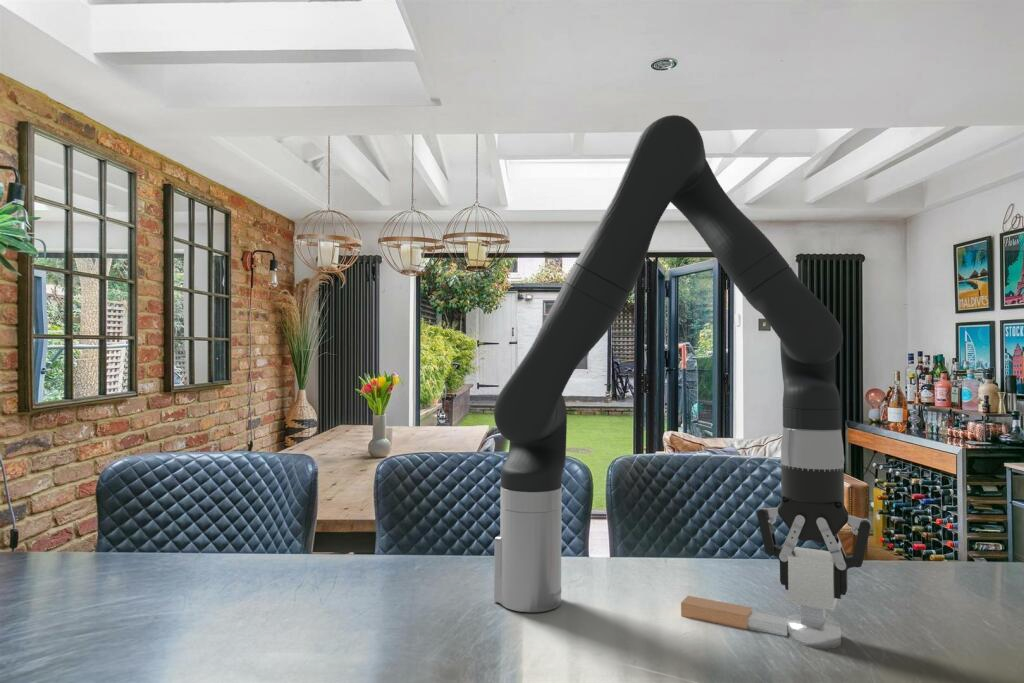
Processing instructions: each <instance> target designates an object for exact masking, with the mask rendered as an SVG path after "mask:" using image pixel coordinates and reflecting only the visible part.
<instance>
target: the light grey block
mask: <svg viewBox="0 0 1024 683" xmlns="http://www.w3.org/2000/svg"><path fill="white" fill-rule="evenodd" d="M835 567H836V565H835V562H834V560H833V558H832V555H831V553H830V552H829V550H822V549H814V548H806V547H799V546H795V548H794V550H793V551H792V553H791V554H789V555H788V590H787V591H788V595H787V596H788V599H787V600H788V604H794V605H799V606H801V605H804V606H810V607H815V608H821V609H825V610H827V611H832V612H834V611H835V608H836V605H837V602H838V599H836V598H835Z"/></svg>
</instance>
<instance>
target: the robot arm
mask: <svg viewBox="0 0 1024 683" xmlns="http://www.w3.org/2000/svg"><path fill="white" fill-rule="evenodd" d="M706 157H707V156H706V149H705V146H704V140H703V136H702V134H701V133H700V131H699V129H698V127H697V126H696V125H695V124H694V123H693V122H692V120H690V119H688V118H687V117H684V116H681V115H678V114H677V115H676V114H675V115H674V114H672V115H665V116H664V117H663V116H662V117H661V118H660V117H659V118H658V119H656V120H655V121H653V122H651V123H650V124H649V125H648V126H647V127H646V128H645V129H644V130H643V131H642V133H641V135H640V136H639V138H638V139H637V142H636V144H635V146H634V149H633V151H632V153H631V155H630V158H629V160H628V163H627V166H626V167H625V170H624V172H623V174H622V176H621V180H620V182H619V183H618V186H617V189H616V191H615V193H614V195H613V197H612V199H611V201H610V203H609V205H608V206H607V208H606V209H605V211H604V213H603V214H602V216H601V217H600V218H599V221H598V222H597V224H596V226H595V227H594V229H593V231H592V233H591V234H590V236H589V237H588V239H587V241H586V243H585V245H584V247H583V249H582V250H581V252H580V254H579V255H578V257H577V258H576V260H575V262H574V264H573V265H572V267H571V269H570V270H569V273H568V275H566V278H565V280H564V282H563V283H562V286H561V288H560V290H559V292H558V295H557V296H556V298H555V300H554V302H553V304H552V306H551V307H550V310H549V311H548V313H547V315H546V316H545V319H544V321H543V323H542V324H541V327H540V329H539V332H538V333H537V335H536V337H535V340H534V341H533V343H532V345H531V347H530V348H529V350H528V351H527V352H526V354H525V356H524V358H523V359H522V360H521V361H520V363H519V364H518V366H517V367H516V369H515V370H514V372H513V373H512V375H511V376H510V378H509V379H508V380H507V382H506V383H505V384H504V386H503V387H502V389H501V391H500V392H499V394H498V396H497V398H496V401H495V404H494V412H493V417H494V423H495V426H496V429H497V431H498V432H499V434H500V435H501V436H502V437H503V438H504V439H506V440H507V441H509V447H508V453H507V456H506V459H505V462H504V464H503V465H502V468H501V470H500V501H499V503H500V504H499V505H500V508H499V510H500V517H499V518H500V520H499V521H500V522H499V524H500V527H499V528H500V532H499V533H500V535H497V536H496V537H495V538H494V554H493V555H494V558H493V559H494V562H493V564H494V569H493V571H494V572H493V573H494V574H493V575H494V578H493V579H494V581H493V583H494V584H493V585H494V586H493V589H494V590H493V601H494V603H499V604H500V605H501V606H503V607H504V608H505V609H509V610H512V611H516V612H520V613H521V612H522V613H542V612H548V611H552V610H554V609H556V608H558V607H560V605H561V604H562V510H563V509H562V500H563V498H562V497H563V496H562V486H563V485H562V484H563V482H562V478H563V472H564V469H565V465H566V458H567V456H566V454H567V434H568V433H567V427H568V425H567V424H568V423H567V422H568V421H567V420H568V419H567V418H568V417H567V413H568V412H567V406H566V401H565V398H564V396H563V393H564V390H565V389H566V388H567V387H566V386H567V384H568V382H569V381H570V379H571V377H572V375H573V373H574V372H575V370H576V369H577V368H578V366H579V364H581V362H582V360H583V359H584V358H585V357H586V356H587V354H589V352H591V350H592V349H593V348H594V347H595V346H596V345H597V344H598V343H599V342H600V340H601V339H602V338H603V337H604V335H605V334H606V333H607V332H608V330H610V328H611V326H613V324H614V322H615V321H616V320H617V318H618V316H619V315H620V313H621V311H622V309H623V308H624V305H625V304H626V302H627V300H628V298H629V297H630V295H631V293H632V292H633V290H634V288H635V286H636V283H637V282H638V279H639V277H640V274H641V271H642V269H643V266H644V264H645V260H646V257H647V255H648V252H649V248H650V245H651V241H652V238H653V236H654V234H655V231H656V228H657V226H658V224H659V221H660V220H661V218H662V217H663V215H664V213H665V211H666V209H667V208H668V206H669V205H670V204H672V205H673V206H674V207H675V208H676V209H677V210H678V211H679V212H680V213H681V214H682V215H683V216H684V217H685V219H687V220H688V222H689V223H690V224H691V225H692V226H693V227H694V228H695V230H696V231H697V233H698V234H699V235H700V237H701V238H702V239H703V241H704V242H705V244H706V245H707V247H708V248H709V249H710V251H711V253H712V254H713V256H714V257H715V259H716V260H717V262H718V263H719V264H720V266H721V267H722V268H723V270H724V272H725V273H726V274H727V276H728V277H729V279H730V280H731V281H732V282H733V283H734V285H735V286H736V288H737V289H738V290H739V292H740V293H741V295H742V296H743V297H744V298H745V300H746V301H747V303H749V305H751V307H752V308H754V309H755V311H757V312H759V313H760V314H761V315H762V317H763V318H764V319H765V320H766V322H767V323H768V324H769V326H770V328H771V329H772V330H773V331H774V333H775V334H776V335H777V338H779V340H780V342H779V343H780V344H779V345H780V362H781V373H782V382H783V397H782V436H781V442H780V447H781V448H780V460H781V461H780V465H781V466H780V467H781V468H780V470H781V476H780V477H781V480H780V481H781V485H780V486H781V499H780V500H781V501H780V503H779V505H778V506H777V507H776V506H775V507H768V506H762V507H761V508H760V509H758V511H757V512H756V515H757V516H756V517H757V521H758V525H759V530H760V536H761V540H762V543H763V547H764V551H765V554H767V555H770V556H773V557H776V558H777V559H778V560H779V581H780V584H781V585H782V586H784V589H785V591H788V555H789V554H791V553H792V551H793V550H794V548H795V547H797V546H796V545H797V543H798V541H802V542H803V541H804V542H808V541H813V542H816V543H818V544H825V545H826V548H827V551H829V552H830V553H831V555H832V558H833V560H834V562H835V565H836V567H835V598H836V599H837V600H841V599H842V596H846V593H848V589H849V586H848V569H851V568H861V567H862V565H863V562H864V558H865V554H866V549H867V544H868V540H869V538H870V537H869V536H870V532H871V529H872V520H871V519H870V518H869V517H863V518H860V517H858V516H854V515H850V514H849V512H848V510H847V508H846V506H845V469H844V468H845V465H844V464H845V454H844V453H845V452H844V442H843V437H842V436H843V435H842V413H841V412H842V410H841V409H842V408H841V397H840V396H841V395H840V393H839V392H840V391H839V389H838V387H837V385H836V364H835V361H836V360H835V359H836V356H837V355H838V353H839V352H840V350H841V348H842V345H843V342H844V335H843V330H842V327H841V325H840V324H839V322H838V320H837V319H836V316H834V315H833V314H832V312H831V311H830V309H828V307H826V305H825V304H824V303H823V302H822V301H821V300H820V299H819V298H818V297H817V296H816V295H815V294H814V293H813V292H812V291H811V290H810V289H809V287H807V286H806V285H805V284H804V283H803V282H802V281H801V280H800V279H799V277H798V276H797V274H796V273H795V270H793V268H792V266H790V264H789V263H788V262H787V260H786V259H785V257H783V255H782V254H781V253H780V252H779V250H778V249H777V248H776V247H775V246H774V244H773V243H772V242H771V240H770V239H769V238H768V237H767V236H766V235H765V233H764V232H763V231H761V230H760V229H759V227H758V226H756V224H755V223H754V222H752V221H751V220H750V218H748V217H747V215H746V214H744V213H743V211H741V210H740V209H739V207H737V205H736V204H735V203H734V202H733V200H732V199H731V198H730V197H729V195H727V193H726V192H725V190H723V187H722V186H721V184H720V183H719V181H718V179H717V178H716V176H715V174H714V172H713V170H712V168H711V166H710V164H709V162H708V160H707V158H706ZM778 516H779V517H780V519H781V521H783V524H785V526H786V527H787V529H788V530H789V532H788V534H787V536H786V538H785V541H784V543H783V546H781V545H778V544H777V538H776V533H775V529H774V524H775V523H776V522H777V517H778ZM847 524H849V526H850V527H851V533H852V534H854V535H855V536H856V539H855V544H854V548H853V553H852V554H849V555H846V553H845V550H844V547H843V545H842V542H841V539H840V537H839V535H838V534H839V532H841V530H842V529H843V528H844V527H845V526H846V525H847Z"/></svg>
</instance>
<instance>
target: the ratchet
mask: <svg viewBox="0 0 1024 683" xmlns="http://www.w3.org/2000/svg"><path fill="white" fill-rule="evenodd" d="M680 616H681V617H684V618H687V619H688V618H689V619H693V620H698V621H704V622H707V623H713V624H717V625H723V626H727V627H731V628H738V629H742V630H745V631H746V630H752V631H756V632H757V631H758V632H762V633H767V634H770V635H771V634H772V635H777V636H782V637H787V638H788V639H789V640H791V641H792V642H794V643H796V644H798V645H801V646H805V647H809V648H812V649H822V650H827V649H829V650H830V649H836V648H838V647H840V646H841V644H842V630H841V629H842V627H841V625H840V623H839V622H837V621H835V620H834V619H831V618H829V617H826V609H821V608H815V607H810V606H804V605H800V613H794V614H791V615H789V616H787V617H783V616H776V615H772V614H767V613H762V612H756V611H753V607H750V606H744V605H739V604H734V603H728V602H724V601H717V600H714V599H708V598H702V597H697V596H692V595H687V596H686V597H685V598H684V599H683V600H682V601H681V603H680Z"/></svg>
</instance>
